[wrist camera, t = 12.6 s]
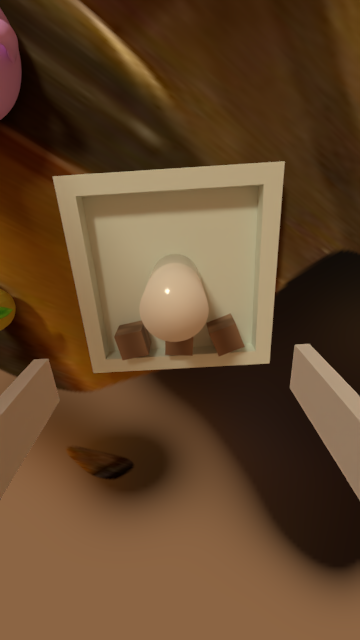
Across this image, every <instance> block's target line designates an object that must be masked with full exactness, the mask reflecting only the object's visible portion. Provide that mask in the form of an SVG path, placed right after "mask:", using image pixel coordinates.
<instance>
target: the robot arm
mask: <svg viewBox="0 0 360 640" xmlns="http://www.w3.org/2000/svg"><path fill="white" fill-rule="evenodd" d="M290 389H291V391H292V392H293V394H294V395H295V397H296V399H297V400H298V402H299V403H300V405H301V407H302V408H303V410H304V411H305V413H306V415H307V416H308V418H309V420H310V421H311V423H312V424H313V426H314V428H315V429H316V431H317V432H318V434H319V436H320V437H321V439H322V440H323V442H324V444H325V445H326V447H327V449H328V450H329V452H330V453H331V455H332V457H333V458H334V460H335V461H336V463H337V465H338V466H339V468H340V469H341V471H342V473H343V474H344V476H345V477H346V479H347V481H348V482H349V484H350V486H351V487H352V488H353V490H354V492H355V494H356V495H357V497H358V498H359V500H360V394H357V393H356V392H355V391H354V390H353V389H352V388H351V387H350V386H349V385H348V384H347V383H346V382H345V381H344V380H343V378H341V376H340V375H339V374H338V373H337V372H336V371H335V370H334V369H333V368H332V367H331V366H330V365H329V364H328V363H327V362H326V361H325V360H324V359H323V358H322V357H321V356H320V355H319V354H318V353H317V352H316V351H315V349H314V348H313V347H312V346H311V345H310V344H298V345H295V347H294V355H293V365H292V374H291V382H290ZM59 401H60V399H59V396H58V392H57V388H56V385H55V381H54V378H53V374H52V370H51V367H50V363H49V359H34V360H33V361H32V362H31V363H30V364H29V365H28V367H27V368H26V369H25V370H24V371H23V372H22V373H21V374H20V375H19V376H18V377H17V378H16V379H15V380H14V382H13V383H12V384H11V385H10V386H9V387H8V388H7V389H6V390H5V391H4V392H3V393H2V394H1V396H0V499H1V498H2V496H3V494H4V492H5V491H6V489H7V488H8V486H9V484H10V483H11V481H12V479H13V478H14V476H15V474H16V473H17V471H18V469H19V468H20V466H21V464H22V462H23V461H24V459H25V458H26V456H27V454H28V453H29V451H30V449H31V448H32V446H33V444H34V443H35V441H36V439H37V438H38V436H39V434H40V433H41V431H42V429H43V428H44V426H45V424H46V423H47V421H48V419H49V418H50V416H51V414H52V413H53V411H54V409H55V408H56V406H57V404H58V403H59Z"/></svg>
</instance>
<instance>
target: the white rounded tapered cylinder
mask: <svg viewBox="0 0 360 640" xmlns="http://www.w3.org/2000/svg"><path fill="white" fill-rule="evenodd" d="M139 310H140V317H141V320H142V322H143V324H144V326H145V328H146V329H147V330H148V331H149V332H150V333H151V334H152V335H154V336H155V337H157V338H159V339H161V340H164V341H170V342H179V341H184V340H187V339H189V338H191V337H193V336H195V335H196V334H197V333H198V332H199V331H200V330H201V329H202V328H203V326H204V325H205V323H206V321H207V318H208V312H209V308H208V302H207V298H206V295H205V292H204V288H203V285H202V282H201V279H200V276H199V272H198V269H197V267H196V265H195V264H194V262H193V261H192V260H191V259H189V258H188V257H186V256H184V255H180V254H170V255H167V256H164V257H163V258H161V259H160V260H159V261H158V262H157V263H156V264H155V266H154V268H153V271H152V273H151V276H150V278H149V281H148V283H147V286H146V288H145V291H144V293H143V296H142V298H141V301H140V308H139Z"/></svg>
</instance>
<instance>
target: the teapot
mask: <svg viewBox="0 0 360 640" xmlns="http://www.w3.org/2000/svg"><path fill="white" fill-rule="evenodd" d="M21 73H22V71H21V59H20V54H19V49H18V39H17V36H16V34H15V32H14V30H13V29H12V27H11V26H10V24H9V22H8V20H7V18H6V16H5V15H4V13H3V12H2V10H1V8H0V120H1V119H2V118H3V117H5V116H6V115H7V114H8V113H9V112H10V110H11V109H12V107H13V106H14V104H15V102H16V100H17V97H18V94H19V91H20V85H21Z"/></svg>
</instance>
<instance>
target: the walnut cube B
mask: <svg viewBox="0 0 360 640" xmlns="http://www.w3.org/2000/svg"><path fill="white" fill-rule="evenodd" d="M193 337H194V336H193ZM193 337H191V338H189V339H187V340H184V341H179V342H170V341H165V355H184V356H193Z"/></svg>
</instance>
